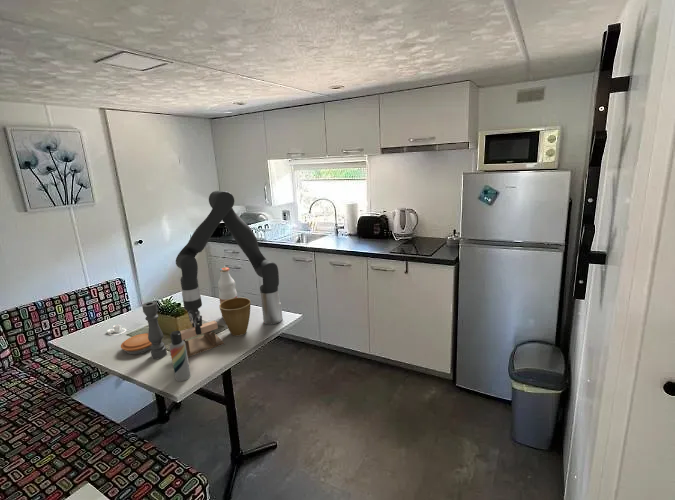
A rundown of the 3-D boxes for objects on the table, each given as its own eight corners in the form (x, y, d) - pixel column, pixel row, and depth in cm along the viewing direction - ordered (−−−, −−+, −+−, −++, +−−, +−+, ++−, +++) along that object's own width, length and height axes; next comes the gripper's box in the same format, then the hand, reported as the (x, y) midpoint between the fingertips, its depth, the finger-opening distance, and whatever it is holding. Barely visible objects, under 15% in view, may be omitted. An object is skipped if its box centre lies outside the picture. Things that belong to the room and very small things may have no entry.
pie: (163, 347, 170) (161, 337, 169) (127, 360, 160) (125, 350, 159) (152, 337, 181) (150, 328, 180) (118, 349, 171) (116, 339, 169)
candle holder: (151, 360, 159) (141, 308, 153) (151, 354, 164) (141, 303, 158) (167, 356, 161) (157, 304, 155) (166, 350, 167) (157, 300, 161)
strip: (215, 326, 172) (214, 320, 171) (217, 328, 169) (217, 322, 168) (175, 338, 161) (174, 332, 160) (178, 341, 158) (176, 335, 158)
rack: (213, 334, 181) (211, 321, 179) (224, 344, 170) (222, 330, 168) (171, 348, 169) (169, 334, 167) (180, 359, 158) (177, 345, 156)
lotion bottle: (178, 374, 147) (170, 329, 142) (192, 372, 148) (185, 328, 143) (173, 382, 142) (164, 336, 137) (188, 380, 142) (180, 334, 137)
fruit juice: (219, 317, 200) (212, 269, 194) (234, 311, 207) (228, 265, 200) (227, 321, 194) (220, 272, 187) (242, 316, 200) (236, 268, 193)
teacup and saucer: (104, 334, 187) (102, 327, 186) (118, 328, 194) (117, 321, 193) (116, 337, 184) (114, 329, 183) (130, 330, 191) (128, 323, 190)
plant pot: (221, 330, 184) (216, 301, 180) (249, 323, 190) (246, 295, 186) (226, 343, 171) (222, 311, 167) (257, 334, 177) (253, 304, 173)
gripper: (205, 299, 158) (210, 335, 162) (195, 291, 168) (200, 325, 173) (188, 304, 153) (193, 340, 157) (178, 295, 164) (184, 330, 168)
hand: (197, 332), depth 165 cm, fingers closed on strip, 3 cm apart
